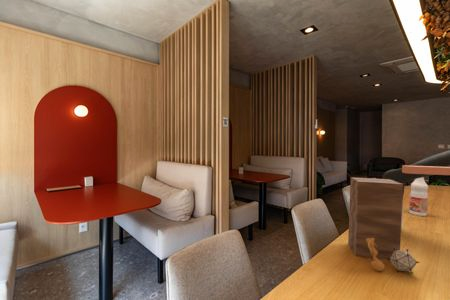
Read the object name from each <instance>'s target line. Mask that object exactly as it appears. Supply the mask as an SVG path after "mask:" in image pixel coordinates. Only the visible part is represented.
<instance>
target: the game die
mask: <svg viewBox="0 0 450 300" xmlns="http://www.w3.org/2000/svg"><path fill="white" fill-rule="evenodd" d="M393 249H394V252H393V254H392V255H391V257H390V261H389V262H391V263H392V265H393V266H395V268H396V269H397V270H396V271H397V272H396V273H399V272H401V271H402V272H410V273H411V274H413V269H414V268H415V266H416V264H420V263H421V262H420V261H416V259H415V257H413V256H412V255H411V253H410V251H409V248H407V249H406V250H401V249H400V250H395V248H393ZM387 259H388V260H389V258H387ZM388 260H387V261H388Z"/></svg>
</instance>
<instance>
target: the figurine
mask: <svg viewBox="0 0 450 300" xmlns="http://www.w3.org/2000/svg"><path fill="white" fill-rule="evenodd" d="M366 241H367V243H368V247H369V249H370V251H371V254H372V255H373V253H374V255H373V258H372V259H373V260H372V261H371V266H372V267H371V268H372V269H374V270H375V271H377V272H382V271H383V270H384V268H385V265H384V263H383V261H382V260H381V259H378V258H377V257H376V255H377V254H378V251H377V250H376V249H375V248H374V245H375V246H376V244H375V243H374V241H375V240H374V238H367V239H366ZM376 247H377V246H376Z"/></svg>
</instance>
